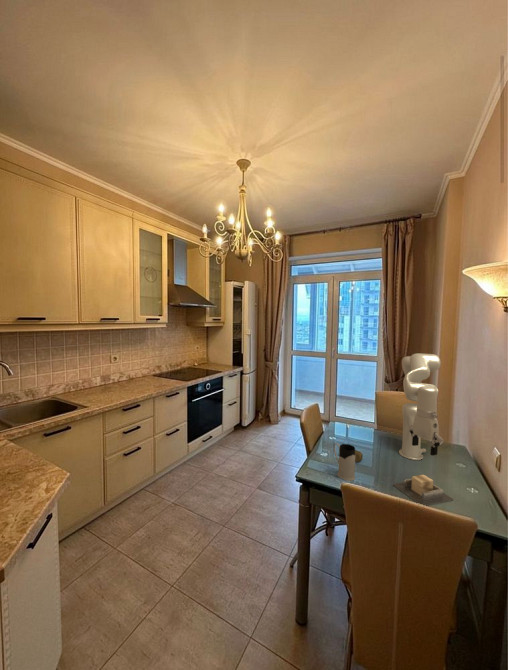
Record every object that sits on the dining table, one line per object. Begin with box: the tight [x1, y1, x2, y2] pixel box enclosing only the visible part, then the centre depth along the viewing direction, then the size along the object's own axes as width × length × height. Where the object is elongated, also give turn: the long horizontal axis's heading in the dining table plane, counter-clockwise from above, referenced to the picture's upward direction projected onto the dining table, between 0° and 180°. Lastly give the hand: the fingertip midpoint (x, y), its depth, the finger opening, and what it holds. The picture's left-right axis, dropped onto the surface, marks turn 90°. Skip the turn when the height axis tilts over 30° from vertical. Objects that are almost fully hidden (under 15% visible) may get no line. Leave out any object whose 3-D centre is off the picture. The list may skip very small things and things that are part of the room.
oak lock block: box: [411, 474, 434, 495], centre depth 125 cm, size 7×5×6 cm
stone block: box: [355, 449, 364, 463], centre depth 156 cm, size 6×12×5 cm, turn 47°
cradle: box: [392, 478, 454, 507], centre depth 125 cm, size 18×16×4 cm
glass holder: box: [333, 442, 356, 482], centre depth 139 cm, size 9×14×15 cm, turn 24°
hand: (424, 449), depth 124 cm, fingers open, 9 cm apart
